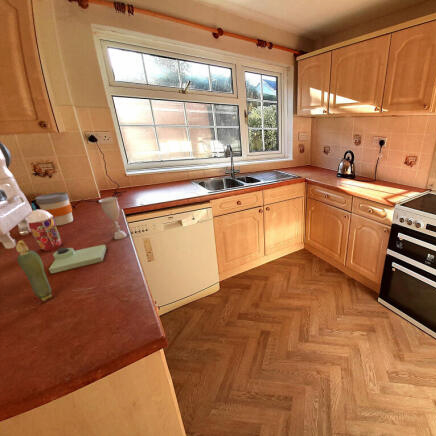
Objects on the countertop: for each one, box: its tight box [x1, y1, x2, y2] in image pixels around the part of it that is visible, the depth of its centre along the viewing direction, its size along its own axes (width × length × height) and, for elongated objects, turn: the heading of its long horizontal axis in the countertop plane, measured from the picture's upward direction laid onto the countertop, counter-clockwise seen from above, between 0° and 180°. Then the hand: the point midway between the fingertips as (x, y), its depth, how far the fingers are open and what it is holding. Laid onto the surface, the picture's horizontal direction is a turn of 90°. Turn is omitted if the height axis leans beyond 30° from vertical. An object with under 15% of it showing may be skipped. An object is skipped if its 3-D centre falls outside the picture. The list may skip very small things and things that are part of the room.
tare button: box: [56, 246, 69, 254], centre depth 93 cm, size 3×3×2 cm
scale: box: [48, 243, 107, 274], centre depth 93 cm, size 15×12×4 cm
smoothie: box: [27, 202, 63, 252], centre depth 101 cm, size 8×8×20 cm
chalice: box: [98, 196, 127, 240], centre depth 109 cm, size 7×7×18 cm
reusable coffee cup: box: [35, 191, 74, 227], centre depth 129 cm, size 13×12×15 cm
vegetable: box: [15, 239, 53, 302], centre depth 70 cm, size 4×4×20 cm
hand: (19, 240), depth 66 cm, fingers open, 8 cm apart
